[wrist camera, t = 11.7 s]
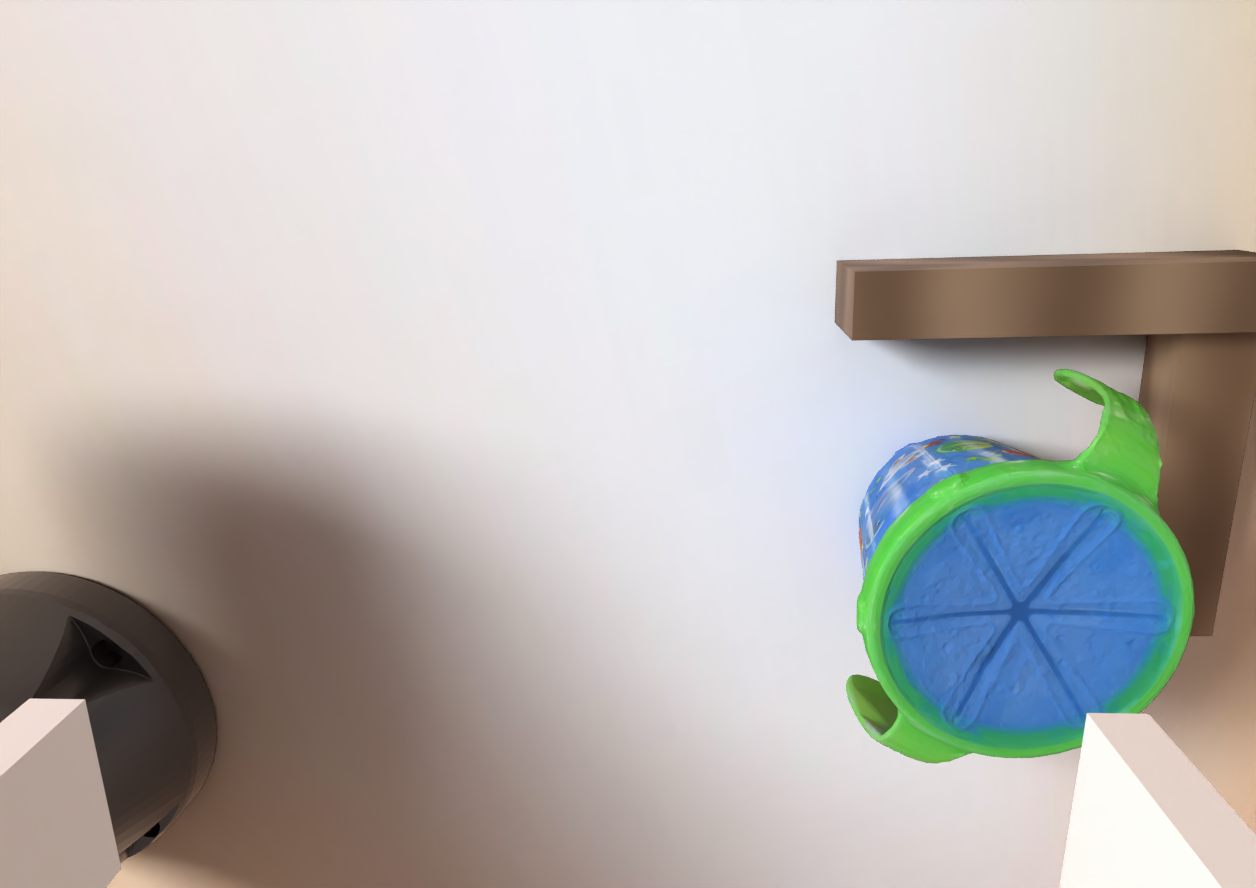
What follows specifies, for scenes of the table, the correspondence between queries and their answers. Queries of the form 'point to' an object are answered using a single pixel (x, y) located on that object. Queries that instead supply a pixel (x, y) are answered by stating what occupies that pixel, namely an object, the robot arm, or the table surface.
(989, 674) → the snack cup
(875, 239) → the table surface
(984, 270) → the bracket
